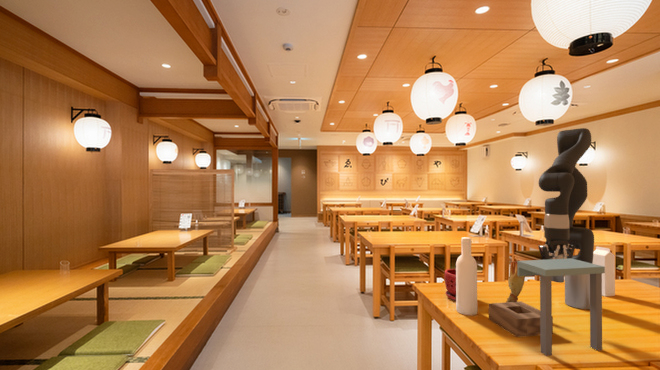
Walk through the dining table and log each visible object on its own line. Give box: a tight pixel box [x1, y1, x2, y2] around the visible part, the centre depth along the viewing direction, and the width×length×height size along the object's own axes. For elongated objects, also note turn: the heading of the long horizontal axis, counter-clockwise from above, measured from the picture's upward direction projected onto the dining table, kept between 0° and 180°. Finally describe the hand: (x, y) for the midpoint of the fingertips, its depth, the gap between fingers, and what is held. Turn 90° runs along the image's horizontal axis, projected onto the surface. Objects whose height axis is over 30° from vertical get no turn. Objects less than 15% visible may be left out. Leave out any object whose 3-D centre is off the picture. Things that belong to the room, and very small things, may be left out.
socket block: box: [488, 300, 554, 338], centre depth 111 cm, size 14×14×6 cm
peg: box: [551, 253, 565, 284], centre depth 113 cm, size 4×4×10 cm
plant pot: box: [444, 268, 456, 302], centre depth 139 cm, size 13×13×12 cm
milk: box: [592, 246, 616, 297], centre depth 144 cm, size 6×6×22 cm
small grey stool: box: [516, 258, 605, 357], centre depth 98 cm, size 21×11×26 cm, turn 99°
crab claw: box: [505, 260, 526, 302], centre depth 125 cm, size 7×5×20 cm
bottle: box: [455, 236, 478, 316], centre depth 124 cm, size 8×8×30 cm
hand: (556, 272), depth 113 cm, fingers closed on peg, 4 cm apart
